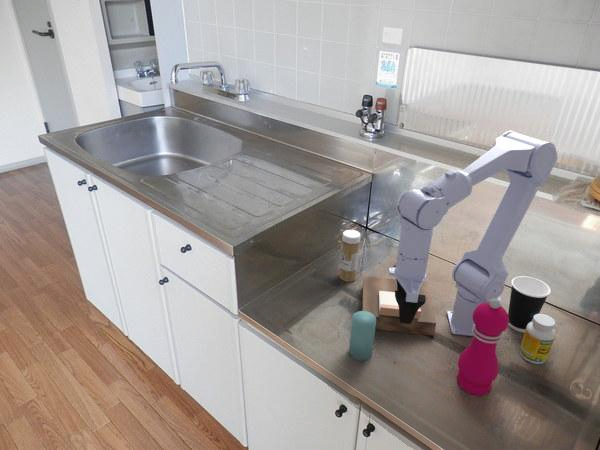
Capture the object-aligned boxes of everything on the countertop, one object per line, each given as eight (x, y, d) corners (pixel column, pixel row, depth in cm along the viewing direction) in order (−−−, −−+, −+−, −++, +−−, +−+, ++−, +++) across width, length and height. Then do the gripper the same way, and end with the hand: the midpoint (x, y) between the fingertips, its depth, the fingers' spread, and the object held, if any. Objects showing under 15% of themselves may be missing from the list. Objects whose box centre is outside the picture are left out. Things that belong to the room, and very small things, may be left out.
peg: (372, 345, 97) (376, 312, 93) (372, 361, 93) (376, 327, 88) (349, 343, 97) (352, 309, 93) (348, 359, 93) (351, 324, 89)
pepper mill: (472, 402, 84) (495, 316, 75) (446, 375, 90) (465, 292, 81) (501, 391, 86) (527, 306, 77) (474, 365, 92) (495, 284, 83)
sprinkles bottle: (335, 276, 121) (338, 232, 114) (348, 271, 123) (352, 227, 117) (347, 284, 117) (351, 239, 111) (360, 278, 120) (364, 234, 114)
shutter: (415, 297, 107) (417, 287, 106) (419, 321, 99) (420, 311, 98) (378, 293, 108) (380, 283, 107) (379, 317, 100) (380, 307, 99)
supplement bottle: (531, 344, 98) (542, 308, 94) (552, 360, 94) (565, 324, 90) (513, 351, 96) (524, 315, 92) (534, 368, 92) (546, 331, 88)
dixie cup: (500, 311, 109) (510, 272, 104) (536, 319, 106) (549, 280, 101) (500, 331, 102) (512, 291, 97) (539, 340, 99) (553, 300, 94)
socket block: (426, 293, 114) (428, 282, 113) (433, 335, 100) (436, 323, 99) (362, 287, 116) (363, 276, 115) (361, 327, 102) (362, 315, 100)
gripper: (390, 232, 92) (383, 287, 98) (393, 270, 79) (384, 331, 85) (425, 235, 91) (416, 291, 97) (434, 274, 78) (423, 335, 84)
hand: (404, 310), depth 91 cm, fingers open, 7 cm apart
